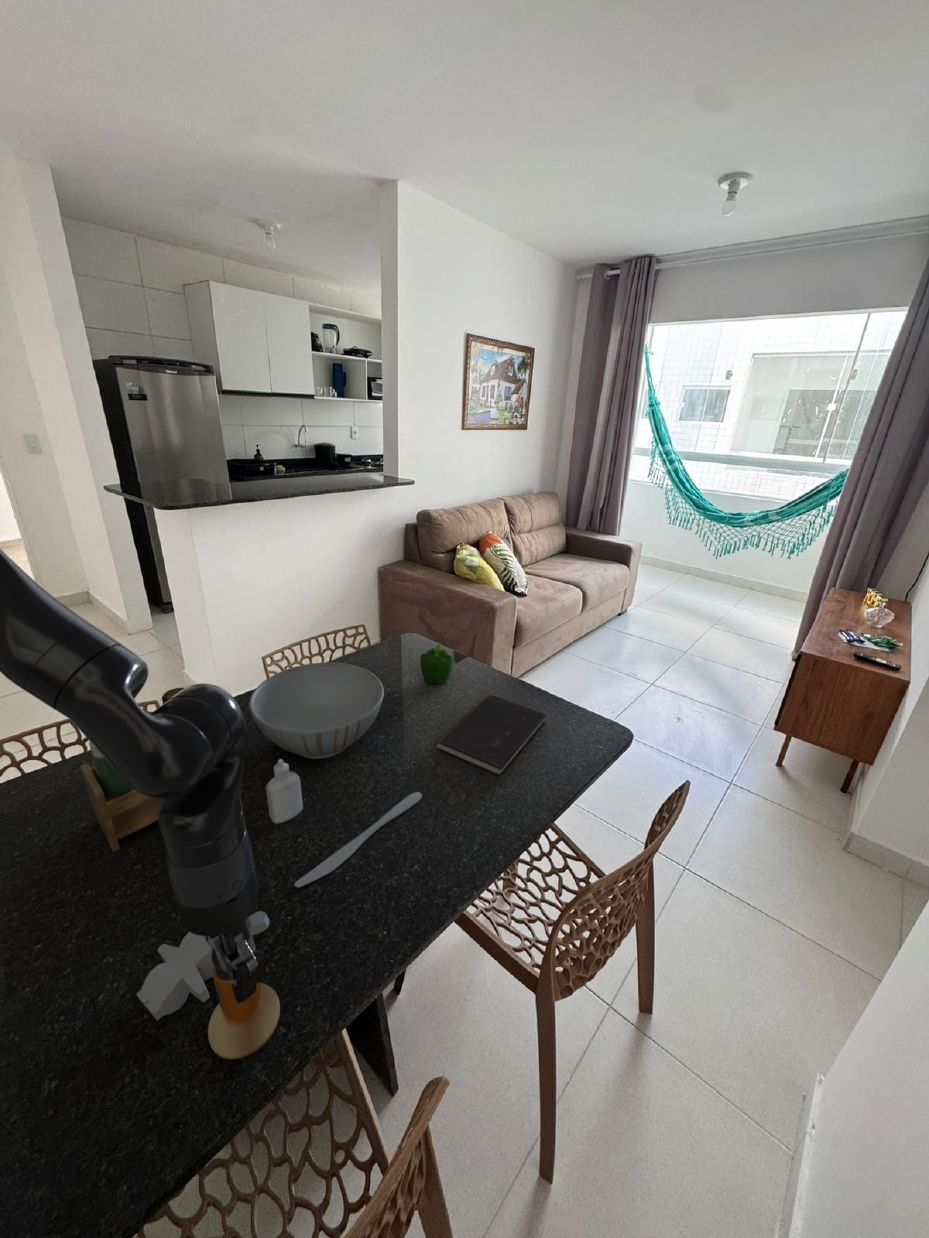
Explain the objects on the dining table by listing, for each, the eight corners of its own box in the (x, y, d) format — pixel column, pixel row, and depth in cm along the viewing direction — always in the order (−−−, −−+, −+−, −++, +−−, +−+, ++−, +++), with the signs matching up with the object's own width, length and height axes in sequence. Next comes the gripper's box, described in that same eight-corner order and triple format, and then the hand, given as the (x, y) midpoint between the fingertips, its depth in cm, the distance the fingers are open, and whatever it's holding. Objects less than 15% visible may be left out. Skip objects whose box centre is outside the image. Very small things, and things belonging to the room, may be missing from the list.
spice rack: (113, 852, 82) (95, 794, 78) (97, 821, 88) (80, 765, 83) (236, 791, 96) (227, 739, 91) (216, 768, 102) (206, 717, 97)
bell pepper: (439, 692, 131) (440, 657, 127) (414, 681, 135) (414, 648, 131) (457, 678, 138) (459, 645, 134) (433, 669, 142) (434, 637, 138)
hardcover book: (545, 722, 121) (546, 714, 120) (500, 777, 103) (501, 768, 102) (486, 701, 129) (487, 693, 128) (434, 748, 110) (435, 740, 109)
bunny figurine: (119, 973, 62) (228, 876, 73) (133, 994, 65) (237, 898, 75) (162, 1023, 57) (271, 912, 68) (175, 1044, 60) (279, 933, 71)
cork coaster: (226, 1077, 57) (225, 1074, 56) (197, 1019, 61) (196, 1017, 61) (292, 1020, 62) (292, 1017, 62) (261, 971, 67) (260, 969, 67)
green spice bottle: (107, 802, 82) (91, 751, 78) (99, 788, 84) (84, 738, 80) (137, 789, 85) (124, 739, 80) (129, 775, 87) (116, 727, 83)
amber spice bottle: (232, 1035, 58) (219, 979, 54) (216, 1004, 61) (202, 949, 56) (269, 1005, 61) (259, 950, 57) (252, 977, 63) (241, 923, 59)
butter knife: (427, 797, 96) (416, 789, 98) (302, 893, 77) (290, 880, 79) (427, 799, 96) (416, 791, 98) (302, 895, 77) (291, 883, 79)
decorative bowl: (343, 798, 96) (340, 746, 91) (227, 763, 103) (218, 712, 98) (404, 721, 119) (404, 676, 114) (305, 696, 126) (301, 653, 122)
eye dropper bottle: (303, 820, 90) (297, 766, 86) (269, 825, 89) (261, 771, 84) (303, 802, 94) (297, 750, 89) (271, 807, 93) (263, 754, 88)
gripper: (148, 850, 53) (177, 956, 60) (204, 947, 45) (230, 1058, 52) (221, 813, 59) (240, 915, 65) (284, 893, 50) (298, 1001, 57)
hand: (236, 977), depth 58 cm, fingers closed on amber spice bottle, 4 cm apart
